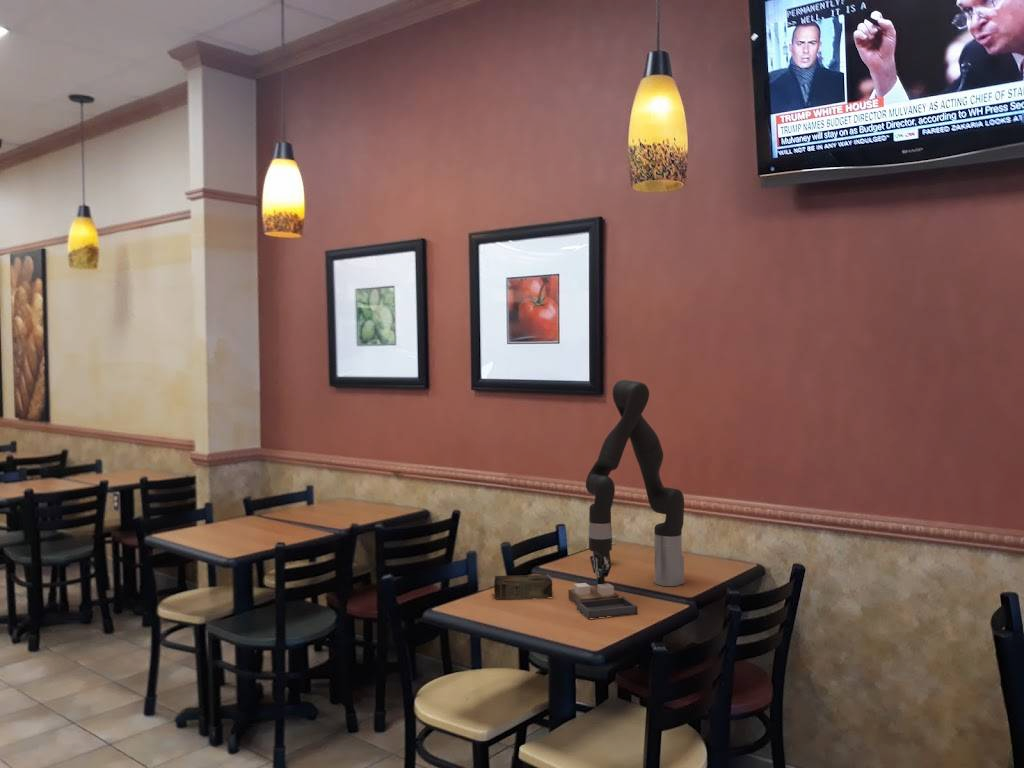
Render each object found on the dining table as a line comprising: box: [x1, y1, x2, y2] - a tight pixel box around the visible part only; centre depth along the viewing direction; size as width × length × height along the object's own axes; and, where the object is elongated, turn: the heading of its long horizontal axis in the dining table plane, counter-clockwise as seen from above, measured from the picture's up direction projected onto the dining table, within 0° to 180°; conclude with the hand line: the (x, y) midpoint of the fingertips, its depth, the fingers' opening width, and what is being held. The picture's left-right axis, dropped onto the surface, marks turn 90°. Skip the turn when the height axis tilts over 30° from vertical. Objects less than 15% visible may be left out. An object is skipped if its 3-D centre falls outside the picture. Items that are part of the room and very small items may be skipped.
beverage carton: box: [493, 574, 554, 601], centre depth 272 cm, size 8×19×7 cm, turn 94°
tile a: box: [596, 582, 615, 596], centre depth 263 cm, size 4×4×2 cm
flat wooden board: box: [567, 586, 620, 606], centre depth 264 cm, size 13×11×3 cm
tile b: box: [573, 582, 591, 595], centre depth 264 cm, size 4×4×2 cm
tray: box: [576, 596, 638, 620], centre depth 254 cm, size 16×10×2 cm, turn 107°
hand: (600, 588), depth 267 cm, fingers closed
